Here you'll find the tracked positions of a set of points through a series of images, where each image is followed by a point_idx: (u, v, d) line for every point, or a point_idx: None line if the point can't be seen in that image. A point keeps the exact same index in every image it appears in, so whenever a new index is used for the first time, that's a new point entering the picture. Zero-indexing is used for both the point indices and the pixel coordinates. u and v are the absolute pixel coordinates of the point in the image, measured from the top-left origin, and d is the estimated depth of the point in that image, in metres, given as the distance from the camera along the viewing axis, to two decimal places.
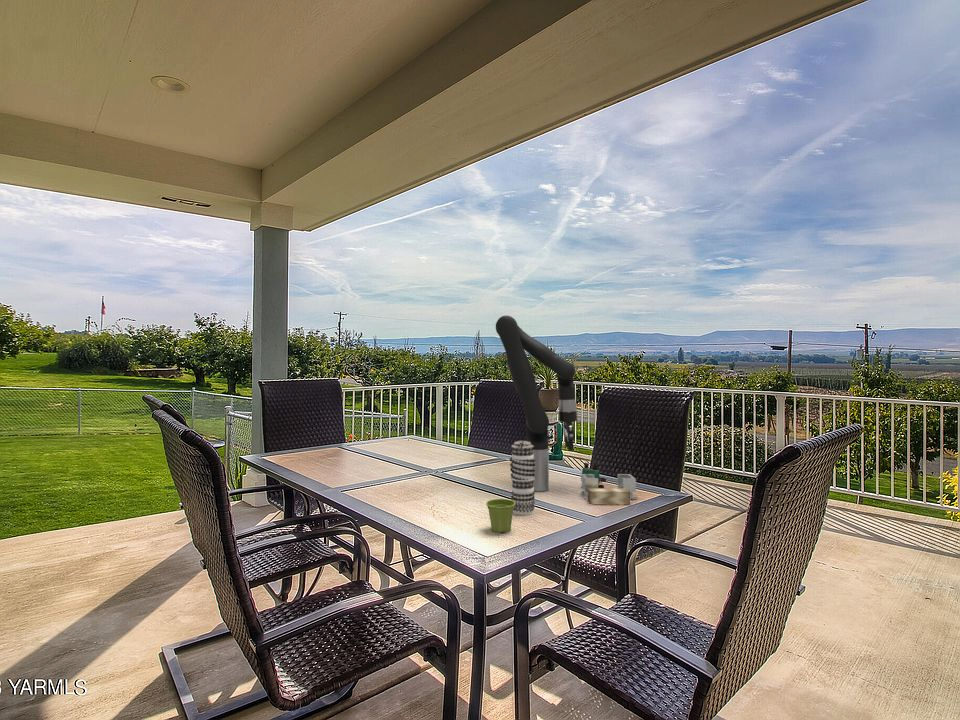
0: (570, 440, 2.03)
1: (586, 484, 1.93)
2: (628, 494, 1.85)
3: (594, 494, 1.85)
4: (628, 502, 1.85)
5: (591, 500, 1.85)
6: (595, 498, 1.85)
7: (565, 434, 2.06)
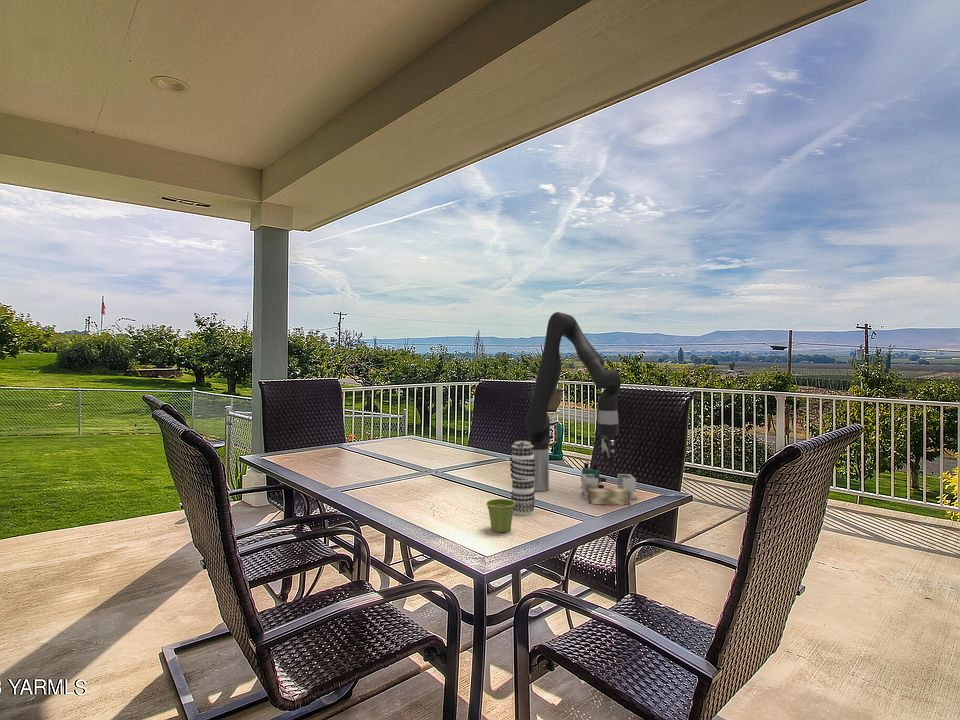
0: (611, 456, 1.81)
1: (586, 484, 1.93)
2: (628, 494, 1.85)
3: (594, 494, 1.85)
4: (628, 502, 1.85)
5: (591, 500, 1.85)
6: (595, 498, 1.85)
7: (605, 449, 1.85)
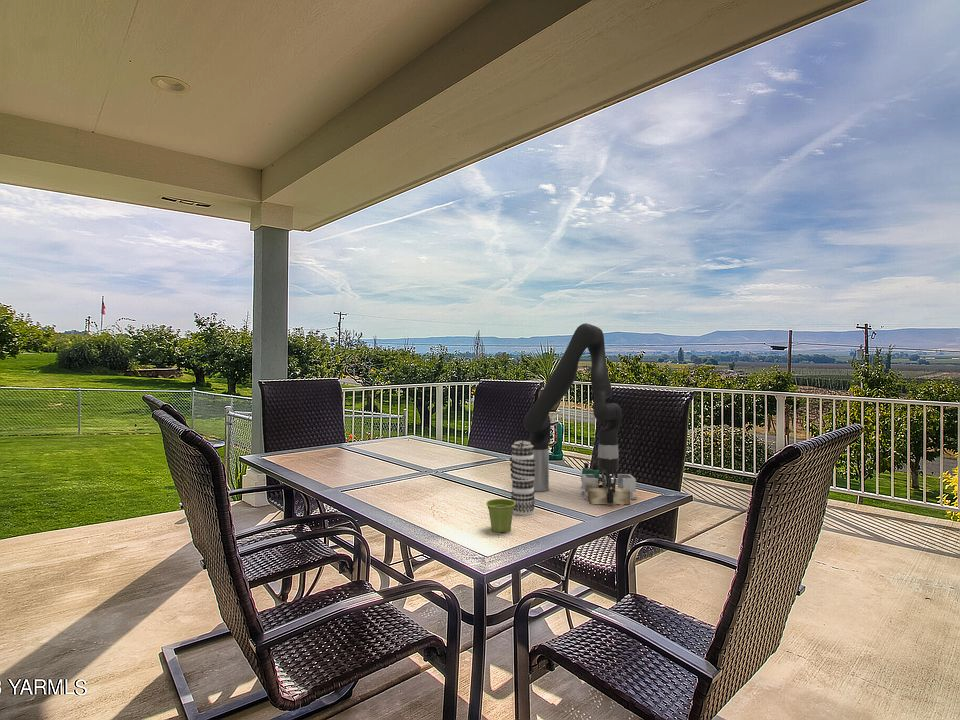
0: (610, 492, 1.83)
1: (586, 484, 1.93)
2: (628, 494, 1.85)
3: (594, 494, 1.85)
4: (628, 502, 1.85)
5: (591, 500, 1.85)
6: (595, 498, 1.85)
7: (604, 483, 1.86)
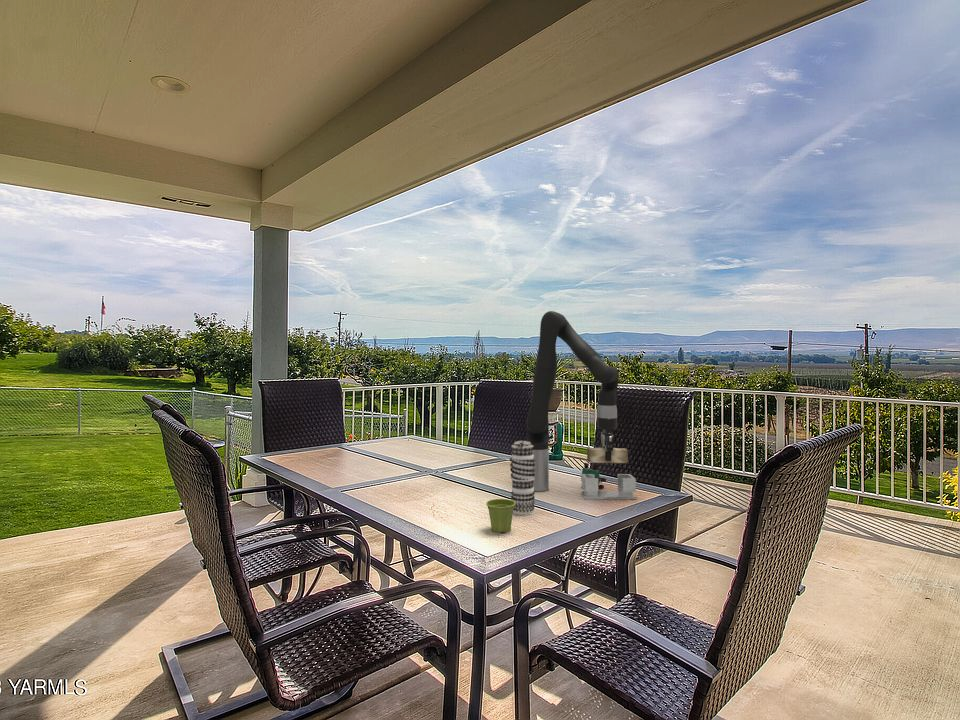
0: (608, 450, 1.91)
1: (586, 484, 1.93)
2: (626, 453, 1.93)
3: (594, 452, 1.93)
4: (626, 460, 1.93)
5: (590, 458, 1.94)
6: (594, 456, 1.93)
7: (603, 442, 1.94)
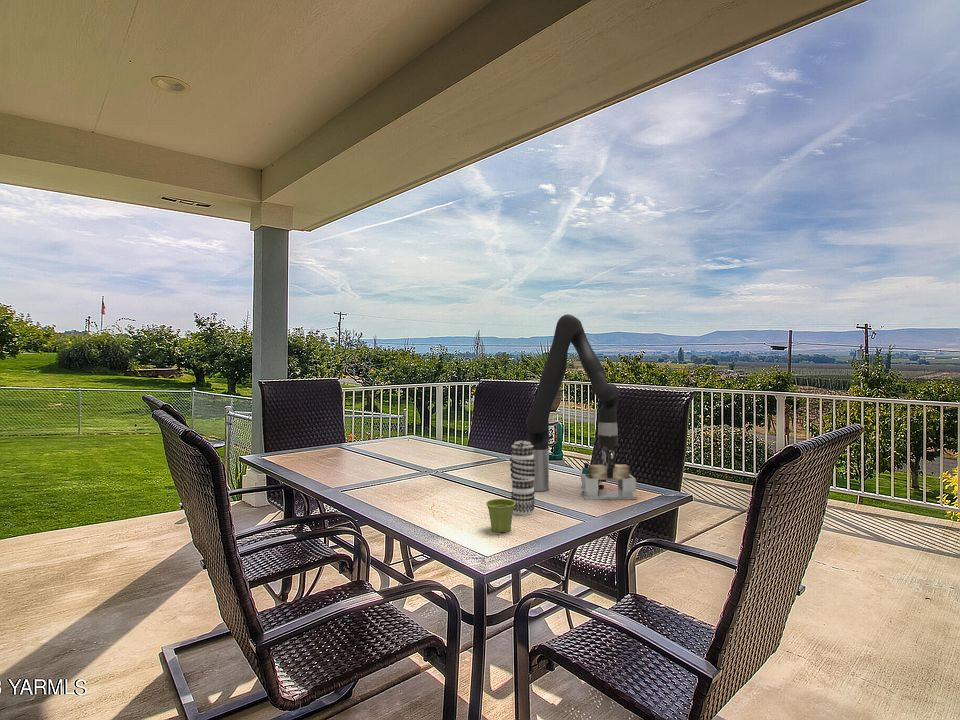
0: (610, 467, 1.93)
1: (586, 484, 1.93)
2: (627, 469, 1.95)
3: (595, 469, 1.95)
4: (627, 477, 1.95)
5: (592, 475, 1.95)
6: (596, 473, 1.95)
7: (604, 459, 1.96)
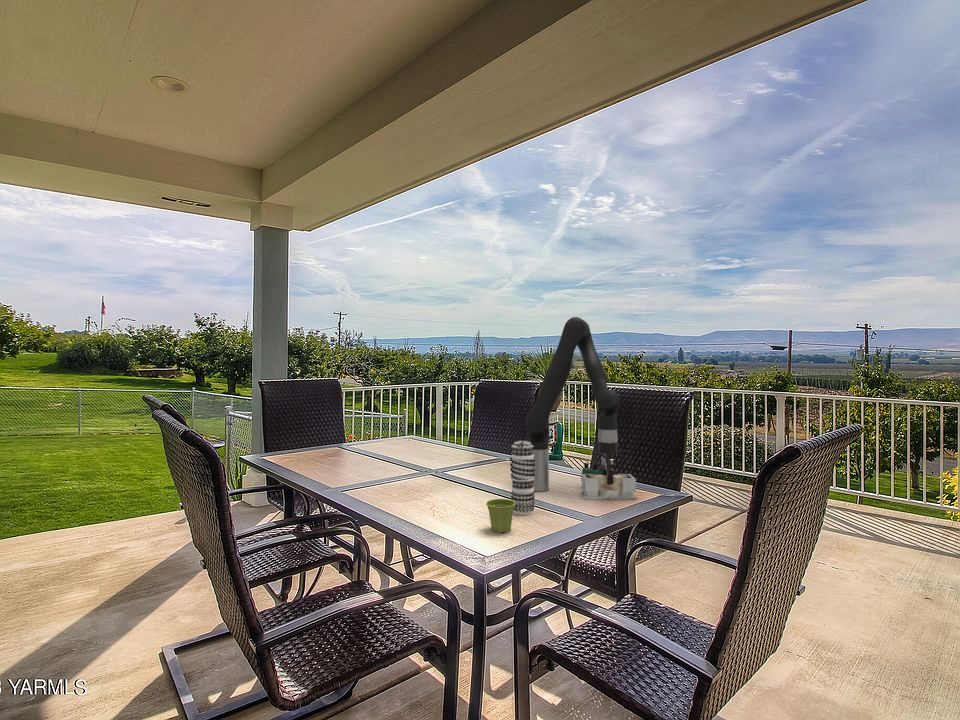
0: (610, 474, 1.91)
1: (586, 484, 1.93)
2: None
3: None
4: None
5: None
6: None
7: (604, 466, 1.95)
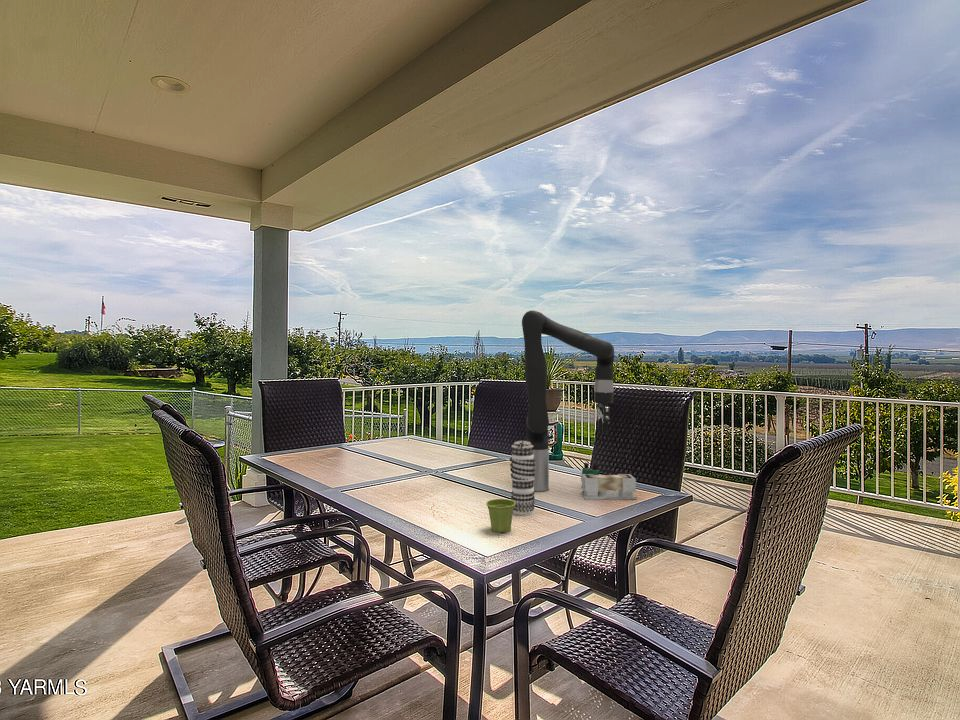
0: (606, 422, 1.93)
1: (586, 484, 1.93)
2: None
3: None
4: None
5: None
6: None
7: (600, 416, 1.96)
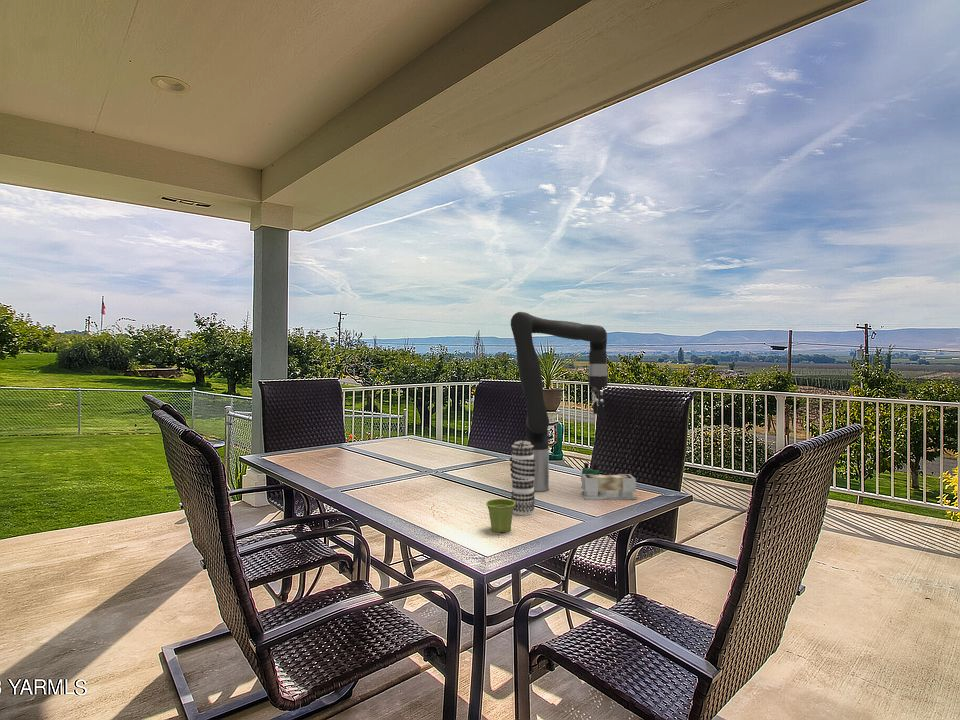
0: (600, 405, 1.95)
1: (586, 484, 1.93)
2: None
3: None
4: None
5: None
6: None
7: (595, 399, 1.98)
